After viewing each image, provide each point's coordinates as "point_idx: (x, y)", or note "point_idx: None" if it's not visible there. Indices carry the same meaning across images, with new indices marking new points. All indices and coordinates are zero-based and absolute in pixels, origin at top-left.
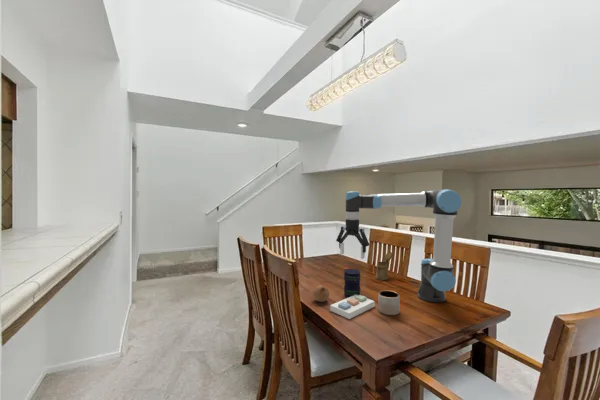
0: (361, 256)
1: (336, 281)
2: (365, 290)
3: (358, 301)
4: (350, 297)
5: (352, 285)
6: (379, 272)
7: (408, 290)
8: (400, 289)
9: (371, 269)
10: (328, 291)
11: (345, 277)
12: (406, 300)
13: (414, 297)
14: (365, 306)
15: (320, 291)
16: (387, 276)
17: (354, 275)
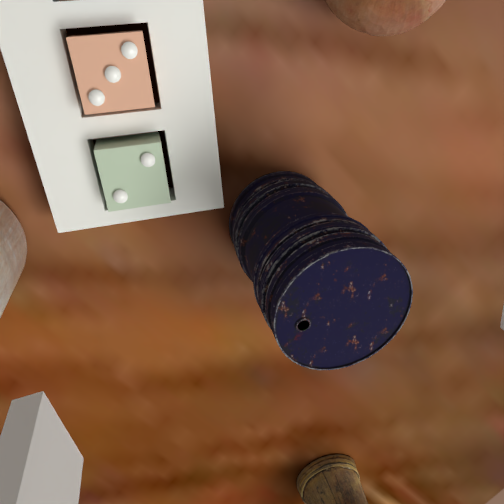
0: (16, 438)
1: (471, 278)
2: None
3: (83, 108)
4: (206, 137)
5: (269, 226)
6: (338, 492)
7: (137, 484)
8: (169, 464)
9: (423, 493)
10: (348, 6)
11: (347, 224)
12: None
13: None
14: (24, 119)
15: None
16: (303, 499)
17: (282, 280)
